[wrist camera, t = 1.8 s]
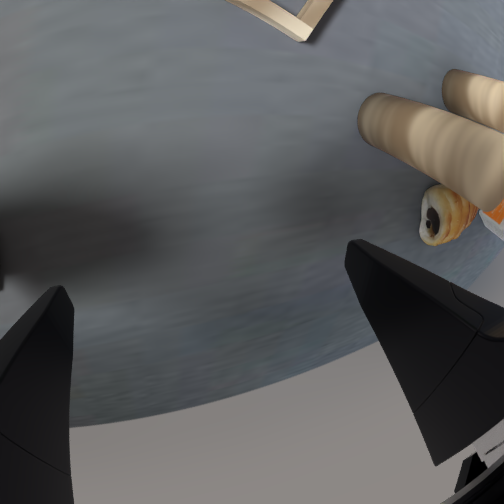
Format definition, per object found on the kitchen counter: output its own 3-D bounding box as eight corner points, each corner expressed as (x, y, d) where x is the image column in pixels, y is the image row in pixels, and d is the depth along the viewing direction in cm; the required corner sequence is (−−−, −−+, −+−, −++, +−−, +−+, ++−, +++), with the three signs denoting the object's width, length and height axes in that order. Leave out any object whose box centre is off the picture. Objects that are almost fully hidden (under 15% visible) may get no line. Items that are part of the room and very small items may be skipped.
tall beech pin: (347, 127, 20) (467, 189, 11) (375, 81, 18) (504, 119, 9) (383, 156, 22) (489, 223, 13) (408, 114, 20) (521, 164, 11)
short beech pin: (435, 93, 19) (490, 110, 15) (453, 59, 18) (506, 72, 13) (456, 121, 22) (505, 142, 17) (472, 89, 20) (520, 106, 15)
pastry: (473, 170, 26) (497, 185, 23) (463, 220, 30) (484, 236, 27) (420, 184, 25) (448, 203, 22) (412, 241, 29) (434, 262, 26)
